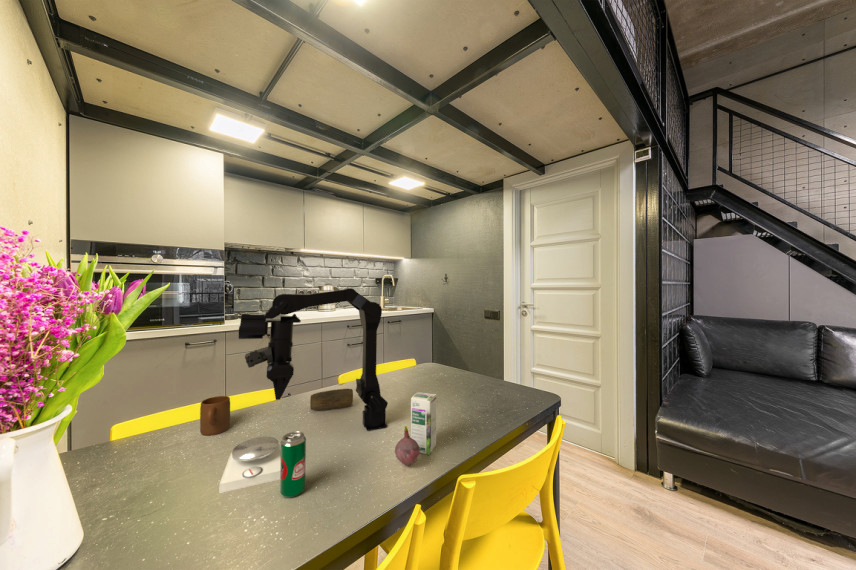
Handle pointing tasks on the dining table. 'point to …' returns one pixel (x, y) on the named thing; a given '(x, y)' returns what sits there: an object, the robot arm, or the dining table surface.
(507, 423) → the dining table surface
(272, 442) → the scale pan
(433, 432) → the syrup box
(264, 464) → the kitchen scale
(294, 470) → the soda can
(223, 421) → the mug
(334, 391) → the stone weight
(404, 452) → the vegetable
